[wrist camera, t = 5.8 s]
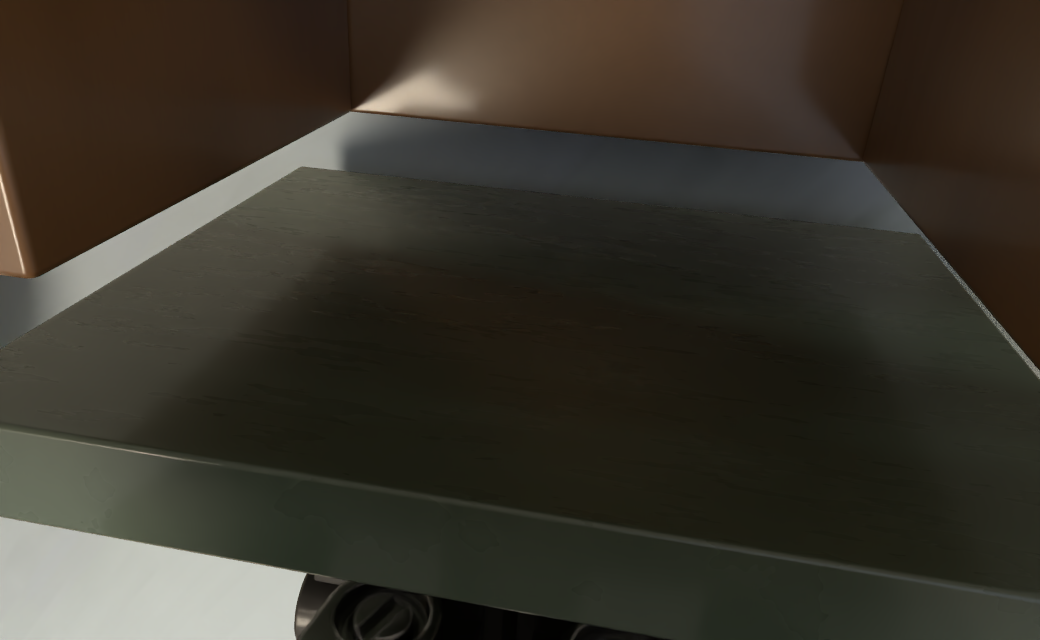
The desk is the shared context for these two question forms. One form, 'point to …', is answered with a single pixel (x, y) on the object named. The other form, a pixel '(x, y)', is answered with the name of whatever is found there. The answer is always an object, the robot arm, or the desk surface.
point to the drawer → (542, 311)
